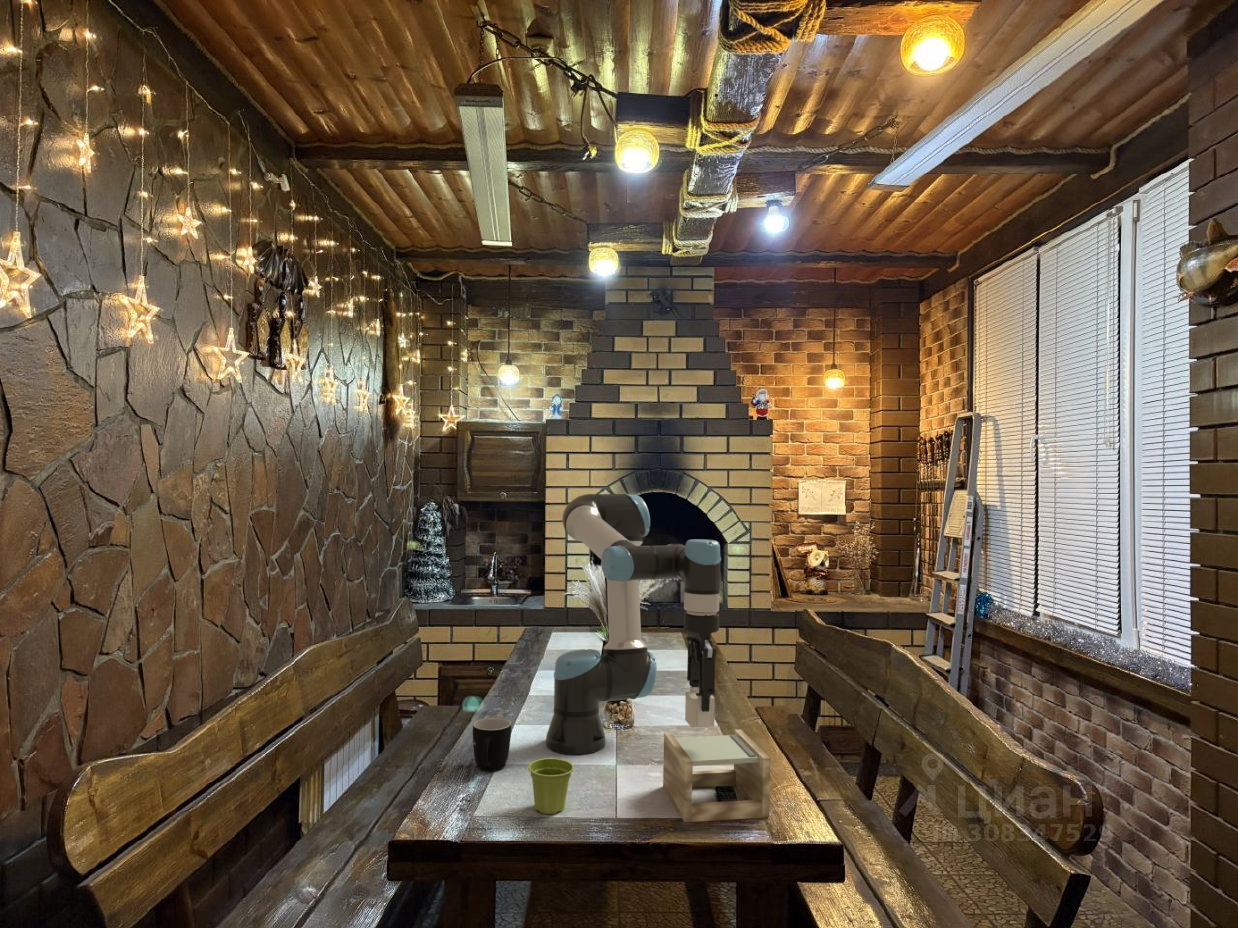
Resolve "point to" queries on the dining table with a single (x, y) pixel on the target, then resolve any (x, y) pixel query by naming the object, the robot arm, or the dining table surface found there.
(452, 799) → the dining table surface
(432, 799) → the dining table surface
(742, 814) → the hatch frame
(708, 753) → the trapdoor
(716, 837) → the dining table surface
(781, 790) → the dining table surface
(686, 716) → the beige block
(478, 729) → the mug
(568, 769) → the plant pot
